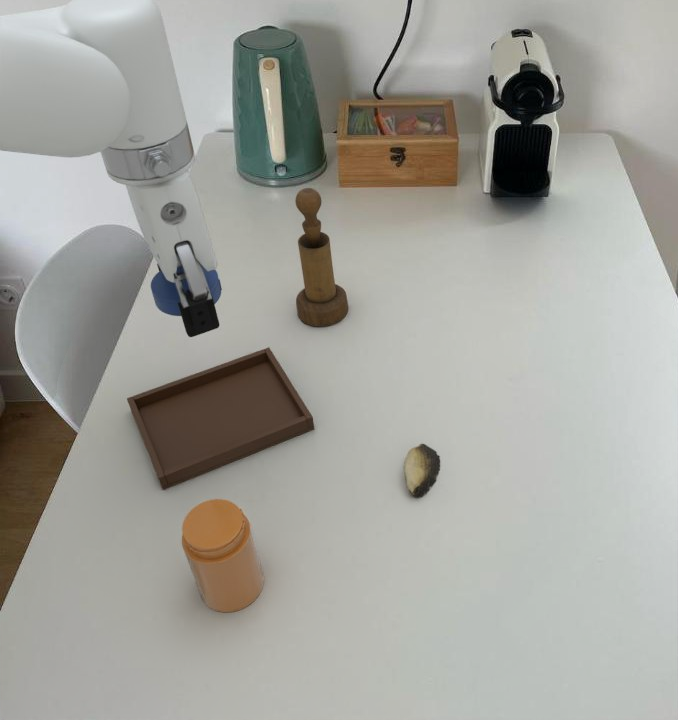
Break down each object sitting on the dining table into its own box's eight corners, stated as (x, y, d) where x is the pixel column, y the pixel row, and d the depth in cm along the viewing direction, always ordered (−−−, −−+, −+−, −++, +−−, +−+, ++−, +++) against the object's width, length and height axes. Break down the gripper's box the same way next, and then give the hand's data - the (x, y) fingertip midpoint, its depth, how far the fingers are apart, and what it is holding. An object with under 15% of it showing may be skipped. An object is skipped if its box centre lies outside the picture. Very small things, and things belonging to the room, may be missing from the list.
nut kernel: (415, 502, 82) (419, 479, 81) (381, 476, 85) (385, 454, 83) (455, 476, 87) (460, 455, 85) (422, 453, 89) (426, 431, 88)
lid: (220, 272, 83) (216, 256, 81) (224, 310, 78) (220, 294, 77) (154, 281, 82) (150, 266, 80) (154, 321, 77) (150, 305, 76)
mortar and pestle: (329, 289, 109) (314, 170, 97) (358, 311, 106) (346, 191, 94) (288, 310, 106) (267, 190, 94) (316, 334, 103) (299, 212, 90)
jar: (211, 623, 74) (189, 563, 67) (192, 573, 78) (168, 512, 71) (273, 594, 76) (257, 534, 69) (251, 547, 79) (233, 485, 73)
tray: (162, 490, 85) (158, 478, 84) (131, 410, 94) (126, 398, 93) (314, 429, 91) (312, 416, 89) (271, 359, 100) (269, 346, 98)
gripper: (221, 181, 65) (258, 348, 77) (162, 99, 76) (202, 256, 88) (128, 208, 62) (181, 376, 74) (81, 119, 74) (134, 277, 86)
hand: (192, 309), depth 81 cm, fingers closed on lid, 6 cm apart
